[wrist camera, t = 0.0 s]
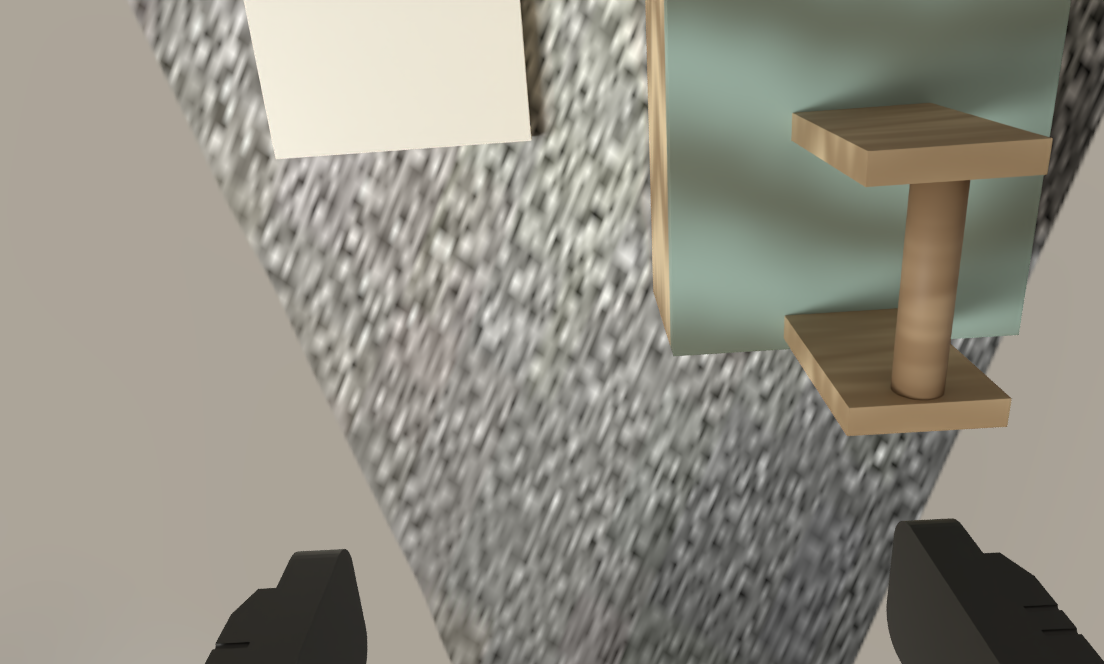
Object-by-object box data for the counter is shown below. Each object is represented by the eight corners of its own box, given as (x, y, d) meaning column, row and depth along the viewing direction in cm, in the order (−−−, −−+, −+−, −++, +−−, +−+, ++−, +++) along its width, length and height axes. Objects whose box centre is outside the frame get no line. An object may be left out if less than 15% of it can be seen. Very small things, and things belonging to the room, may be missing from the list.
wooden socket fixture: (636, -348, 31) (702, -658, 16) (1008, -384, 31) (1424, -736, 16) (653, 291, 41) (705, 457, 26) (935, 272, 41) (1149, 431, 26)
